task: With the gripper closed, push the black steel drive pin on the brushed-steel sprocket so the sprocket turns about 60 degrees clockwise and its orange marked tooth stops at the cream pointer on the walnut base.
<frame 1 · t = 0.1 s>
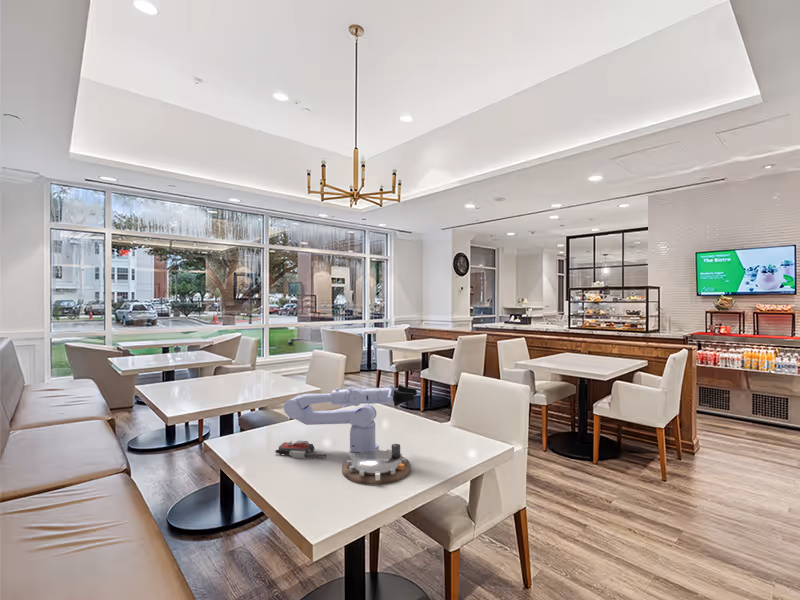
hand: (415, 394, 150), 22 cm above the table, tool horizontal, fingers open, 7 cm apart
sprocket base: (376, 468, 135), on the table
sprocket: (376, 468, 135), resting on sprocket base, hinge at 0.0°
walkie-talkie: (303, 455, 149), on the table
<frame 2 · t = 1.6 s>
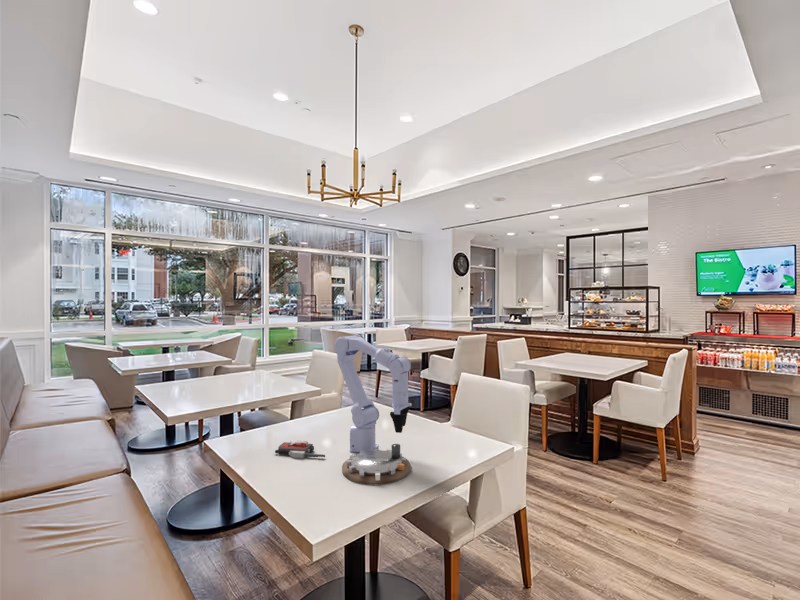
hand: (400, 429, 144), 10 cm above the table, tool pointing down, fingers open, 7 cm apart
nothing on the table moved.
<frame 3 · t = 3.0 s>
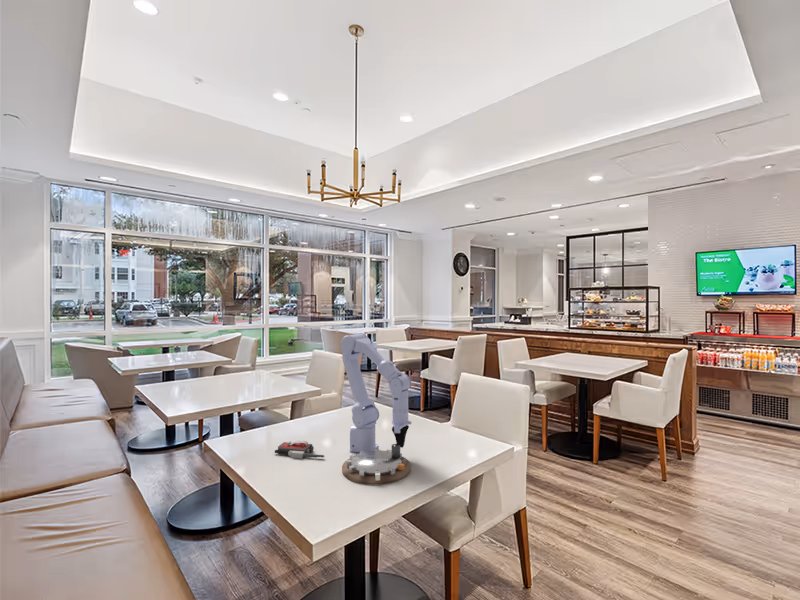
hand: (400, 446, 144), 4 cm above the table, tool pointing down, fingers closed
nothing on the table moved.
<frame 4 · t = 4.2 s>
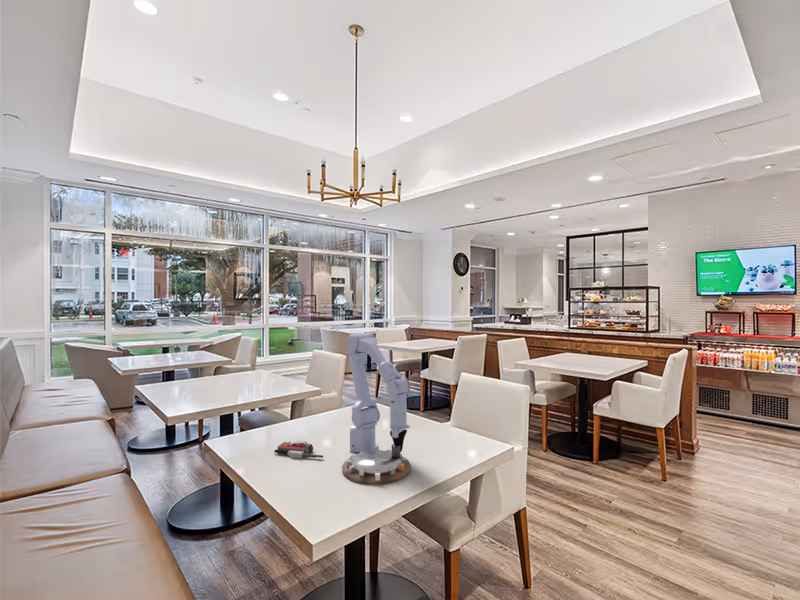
hand: (398, 451, 140), 4 cm above the table, tool pointing down, fingers closed
sprocket: (376, 468, 135), resting on sprocket base, hinge at -0.4°, touching gripper
everything else where it was.
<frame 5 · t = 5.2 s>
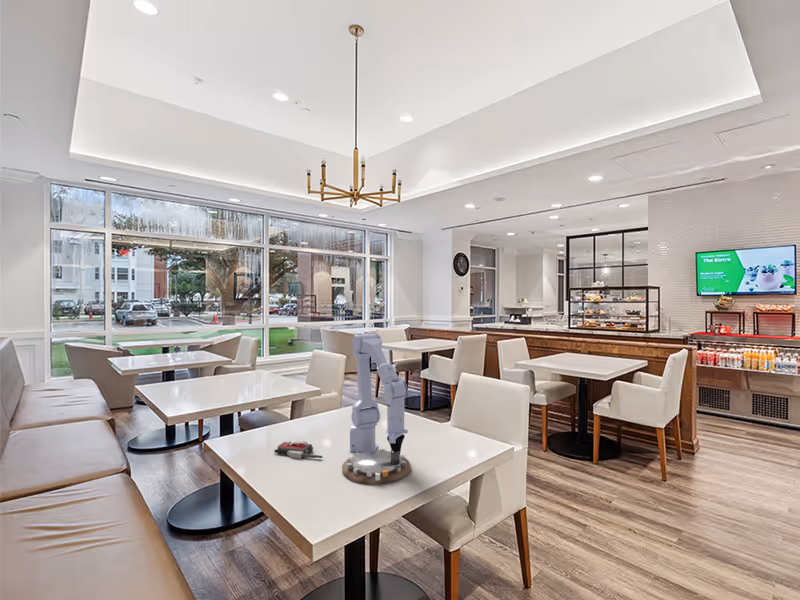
hand: (396, 457, 134), 4 cm above the table, tool pointing down, fingers closed
sprocket: (376, 468, 135), resting on sprocket base, hinge at -45.3°, touching gripper
everything else where it was.
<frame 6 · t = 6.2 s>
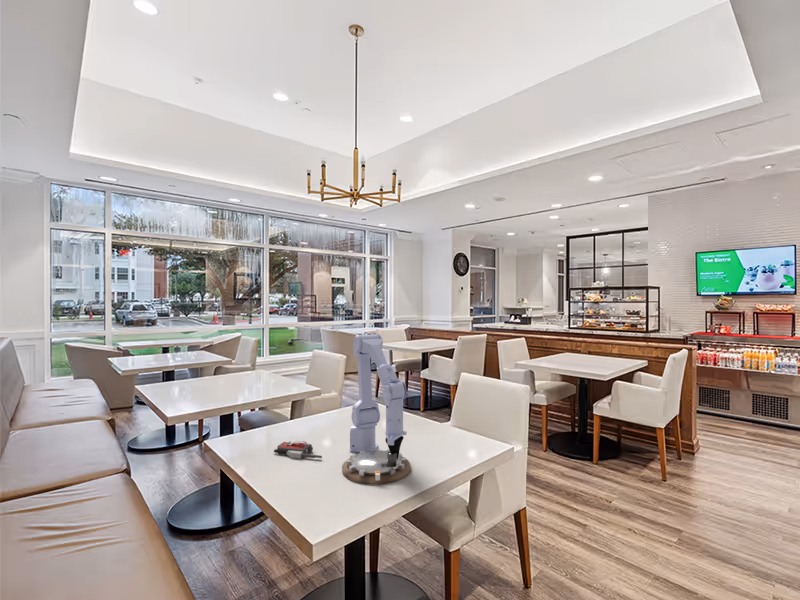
hand: (394, 459, 133), 4 cm above the table, tool pointing down, fingers closed
sprocket: (376, 468, 135), resting on sprocket base, hinge at -60.6°, touching gripper
everything else where it was.
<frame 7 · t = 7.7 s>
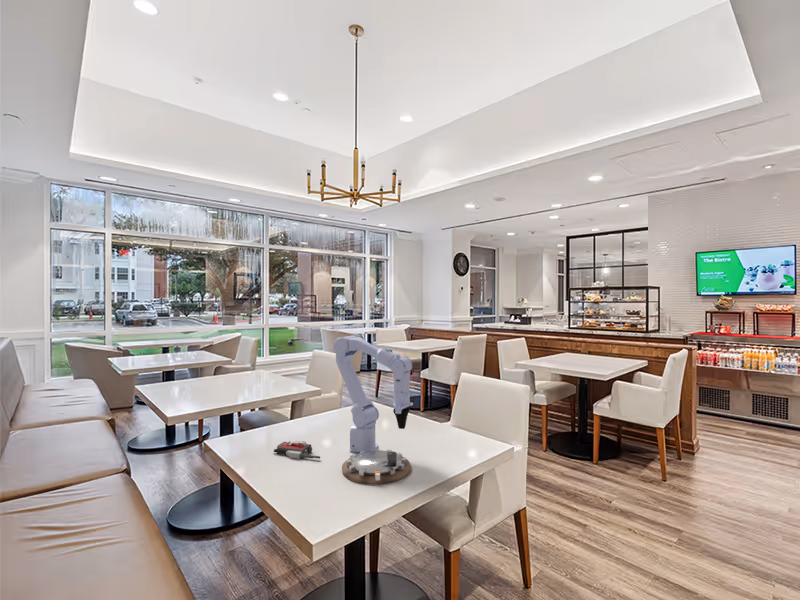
hand: (401, 428, 145), 10 cm above the table, tool pointing down, fingers closed
sprocket: (376, 468, 135), resting on sprocket base, hinge at -60.8°
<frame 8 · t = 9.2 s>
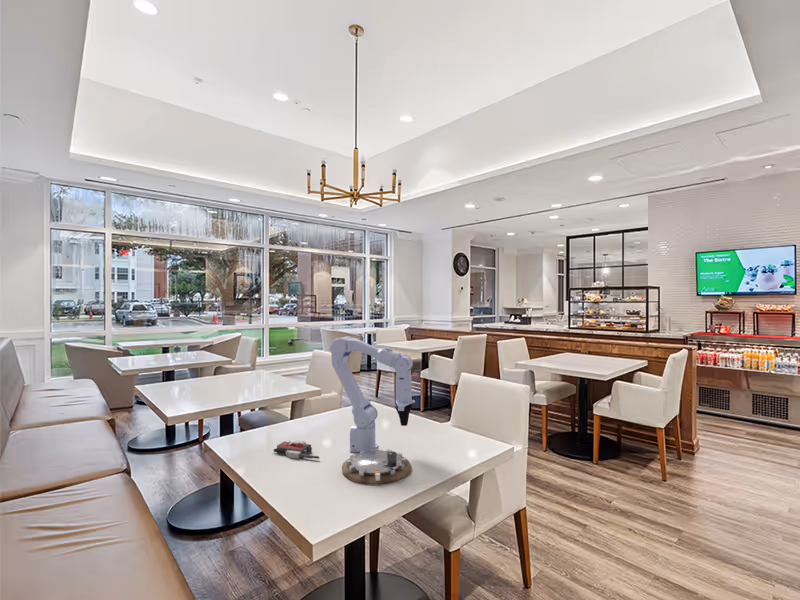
hand: (404, 425, 149), 10 cm above the table, tool pointing down, fingers closed
at the end: sprocket at -61° (first picture: +0°); walkie-talkie moved 1.4 cm from its start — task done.
